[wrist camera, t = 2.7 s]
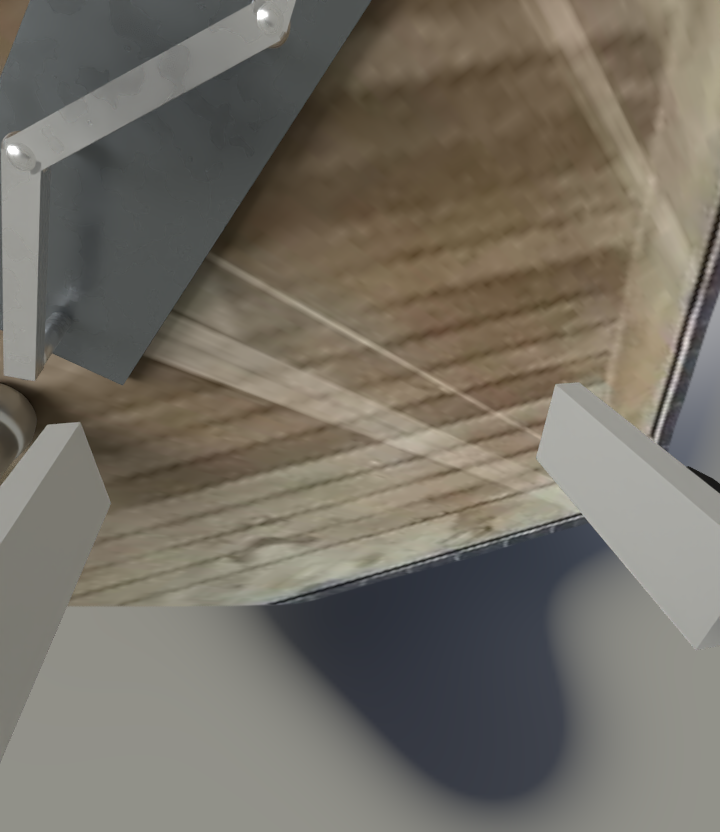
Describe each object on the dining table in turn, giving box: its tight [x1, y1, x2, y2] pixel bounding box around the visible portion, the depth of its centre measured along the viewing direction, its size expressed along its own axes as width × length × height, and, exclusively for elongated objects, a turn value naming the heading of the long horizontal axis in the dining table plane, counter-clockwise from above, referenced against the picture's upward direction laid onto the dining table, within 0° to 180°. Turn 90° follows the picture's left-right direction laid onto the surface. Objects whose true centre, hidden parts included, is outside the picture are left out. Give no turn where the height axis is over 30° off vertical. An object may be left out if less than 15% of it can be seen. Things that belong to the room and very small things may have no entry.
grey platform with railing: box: [0, 0, 371, 385], centre depth 25 cm, size 14×42×10 cm, turn 139°
